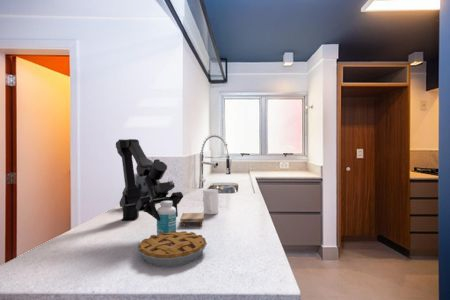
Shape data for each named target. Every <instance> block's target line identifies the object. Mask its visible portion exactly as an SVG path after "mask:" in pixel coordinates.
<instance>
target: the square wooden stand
mask: <svg viewBox="0 0 450 300" xmlns="http://www.w3.org/2000/svg"><path fill="white" fill-rule="evenodd" d="M204 217H205V214H204V213H203V212H182V215H181V216H180V218H179V221H180V222H181V227H186V223H188V222H190V223H191V222H198V226H199V227H202V226H203V222H204V219H205V218H204Z"/></svg>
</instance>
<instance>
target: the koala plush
mask: <svg viewBox="0 0 450 300" xmlns="http://www.w3.org/2000/svg"><path fill="white" fill-rule="evenodd" d="M134 176H135V184H136V186H137V187H140V191H141V195H142V197H147V196H148V193H149V191H148V189H147V187H146V185H145V186H144V185H143V183H144V179H145V177H146V176H145V177H140V176H139V175H138V173H136V172H134ZM149 197H150V198H151V196H149ZM151 199H152V198H151ZM155 206H156V204H155Z"/></svg>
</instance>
